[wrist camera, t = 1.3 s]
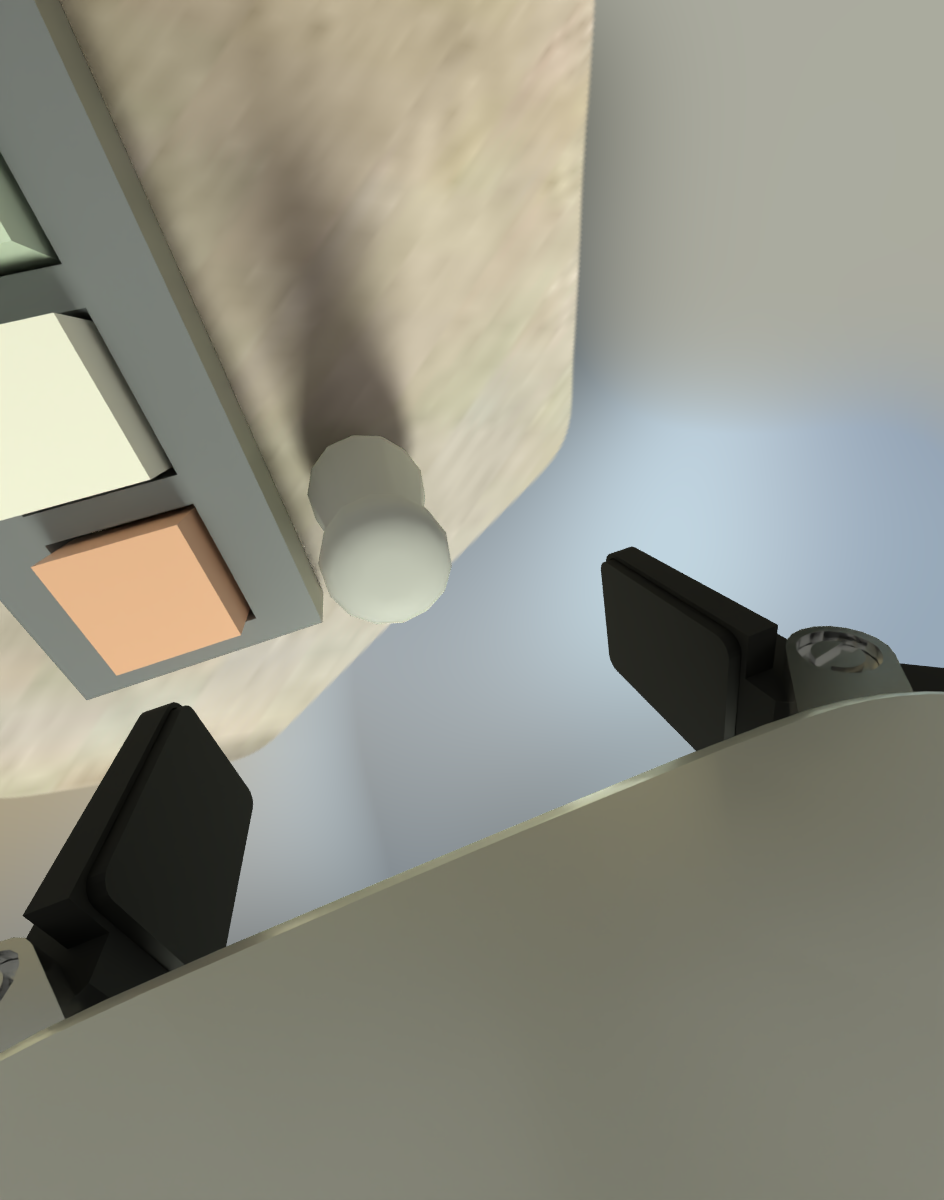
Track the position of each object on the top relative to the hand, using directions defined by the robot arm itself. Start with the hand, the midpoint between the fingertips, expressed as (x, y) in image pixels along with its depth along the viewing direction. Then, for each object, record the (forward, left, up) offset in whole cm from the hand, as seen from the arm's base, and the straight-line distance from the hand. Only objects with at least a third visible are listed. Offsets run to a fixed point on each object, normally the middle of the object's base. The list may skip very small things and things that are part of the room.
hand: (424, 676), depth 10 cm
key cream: (-7, -11, -16) cm, 20 cm away
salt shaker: (-1, 0, -18) cm, 18 cm away
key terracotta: (0, -11, -16) cm, 19 cm away
